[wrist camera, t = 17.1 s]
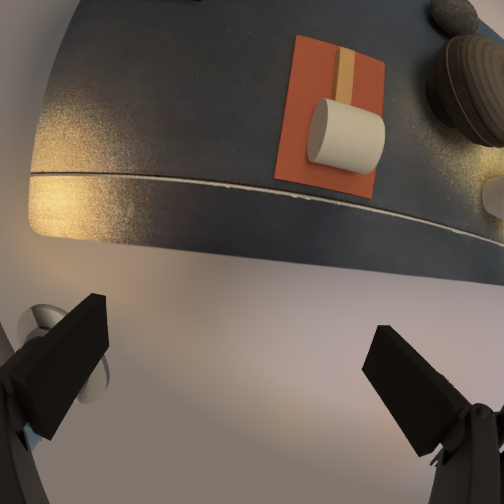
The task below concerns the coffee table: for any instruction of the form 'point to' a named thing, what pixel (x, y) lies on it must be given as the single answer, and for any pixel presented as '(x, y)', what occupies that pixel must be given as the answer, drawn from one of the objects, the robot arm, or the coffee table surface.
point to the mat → (303, 106)
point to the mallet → (345, 125)
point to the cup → (494, 196)
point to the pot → (470, 88)
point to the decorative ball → (455, 16)
